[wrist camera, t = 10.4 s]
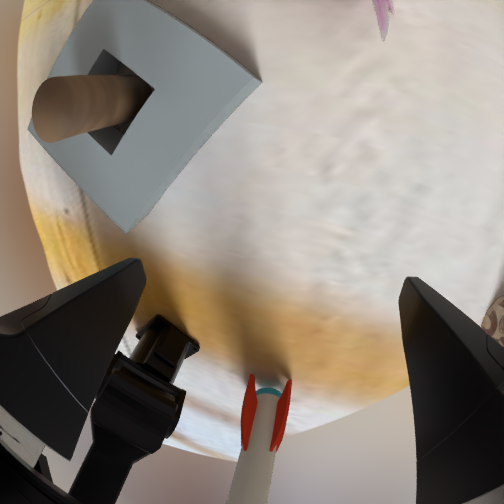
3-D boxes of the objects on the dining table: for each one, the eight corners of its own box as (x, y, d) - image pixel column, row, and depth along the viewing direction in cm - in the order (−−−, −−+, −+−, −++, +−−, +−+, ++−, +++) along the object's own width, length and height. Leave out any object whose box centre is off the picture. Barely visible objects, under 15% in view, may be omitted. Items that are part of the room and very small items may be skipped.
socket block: (146, 216, 24) (126, 233, 21) (52, 122, 20) (27, 129, 17) (262, 82, 17) (253, 77, 14) (131, -9, 13) (107, -18, 10)
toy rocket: (288, 399, 35) (251, 597, 9) (249, 394, 35) (198, 588, 10) (294, 378, 32) (252, 608, 6) (249, 372, 33) (189, 597, 7)
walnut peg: (134, 130, 20) (55, 156, 12) (106, 104, 19) (25, 121, 11) (161, 92, 18) (82, 97, 10) (130, 67, 17) (48, 65, 9)
